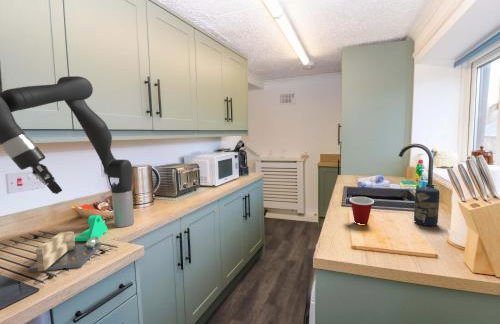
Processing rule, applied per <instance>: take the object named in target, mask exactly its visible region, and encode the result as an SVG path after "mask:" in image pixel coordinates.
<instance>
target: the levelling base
mask: <svg viewBox="0 0 500 324" xmlns="http://www.w3.org/2000/svg"><path fill="white" fill-rule="evenodd" d="M99 241H100V238H98V237H97V236H93V237H92V238H90V239H89V240H88V241H85V243H81V244H80V243H79V244H78V243H77V244H75V248H74V249H73V250H70V251H67V252H66V253H65V254H63V255H62V256H61V257H60V258H59V259H58V260H56V261H55V262H54V263H53V264H52V265H51V266H50V267H48V268H47V269H46V270H45V271H44V272H49V271H58V270H57V269H61V270H64V269H63V268H69V269H70V270H71V269H79V268H82V267H83V266H84V265H85V264H86V263H87V262H88V261H89V260H90V258H91V257H92V256H93V255H94V254H95V253H96V252H97V251H98V250H99V249H100V248H101V246H102V245H101V244H102V243H101V242H99ZM97 249H98V250H97ZM96 250H97V251H96ZM69 269H68V270H69ZM28 271H29V273H38V272H42V271H38V264H37V262H36V263H34V264H33V265H31V266H30V267H29V268H28Z"/></svg>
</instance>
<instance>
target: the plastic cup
mask: <svg viewBox="0 0 500 324" xmlns="http://www.w3.org/2000/svg"><path fill="white" fill-rule="evenodd" d="M349 202H350V204H351V205H350V206H351V209H352V210H351V211H352V216H353V221H355V222H356V223H360V224H367V225H368V224H369V220H370V215H371V210H372V207H373V204H374V203H375V200H374V199H372V198H370V197H366V196H353V197H350V198H349ZM355 222H354V223H355Z"/></svg>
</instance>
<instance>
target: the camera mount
mask: <svg viewBox="0 0 500 324" xmlns="http://www.w3.org/2000/svg"><path fill="white" fill-rule="evenodd" d="M87 224H88V225H89V228H88V229H87V230H84V231H83V232H80V233H78V235H74V238H75V242H87V241H88V240H89V239H90V238H92V237H93V236H97V237H98V238H99V239H100V238H102V235H103V236H104V233H107V231H109V230H108V226H107V225H106V223H105V221H104V219H103V218H102V216H101V215H99V214H98V215H97V214H96V215H90V216H89V217H88V219H87Z"/></svg>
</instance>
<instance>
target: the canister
mask: <svg viewBox="0 0 500 324" xmlns="http://www.w3.org/2000/svg"><path fill="white" fill-rule="evenodd" d="M439 206H440V190H439V189H438V188H434V187H430V186H427V187H426V186H425V187H424V186H422V187H421V186H420V187H417V188H416V189H415V193H414V206H413V207H414V208H413V209H414V211H413V212H414V213H413V221H414V222H415V223H417V224H419V225H423V226H429V227H432V226H436V225H438V223H439V211H440V210H439Z"/></svg>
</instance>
